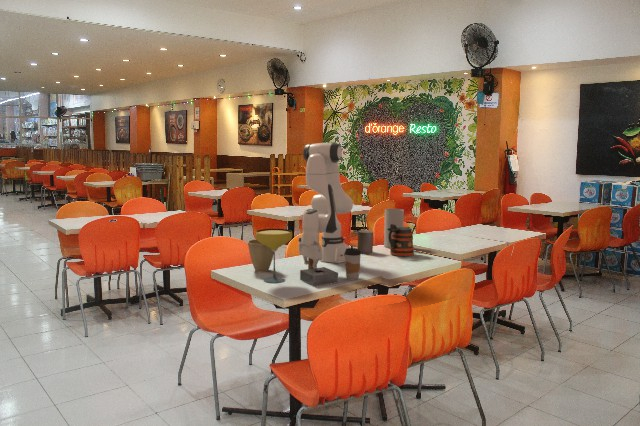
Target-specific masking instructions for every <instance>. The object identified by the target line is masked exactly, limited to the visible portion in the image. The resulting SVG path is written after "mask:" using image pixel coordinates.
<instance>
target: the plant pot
mask: <svg viewBox="0 0 640 426" xmlns="http://www.w3.org/2000/svg"><path fill="white" fill-rule="evenodd" d="M247 246H248V251H249V252H248V253H249V256H250V260H251V262H252V265H253V269H254V271H255V272H258V273H259V272H260V273H261V272H263V273H264V272H268V271H269V270H270V267H271V264H272V261H273V259H274V252H273V251H272V250H271V249H270V248H269V247H268V246H266V245H264V244H262V243H260V242H259V241H258V240H257V239H256V238H254V239H251V240H247Z"/></svg>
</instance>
